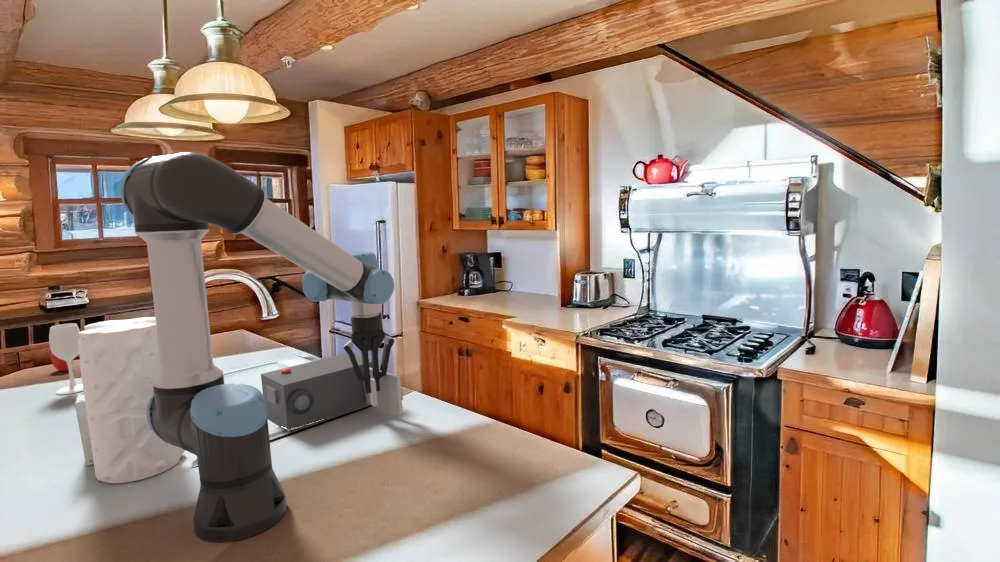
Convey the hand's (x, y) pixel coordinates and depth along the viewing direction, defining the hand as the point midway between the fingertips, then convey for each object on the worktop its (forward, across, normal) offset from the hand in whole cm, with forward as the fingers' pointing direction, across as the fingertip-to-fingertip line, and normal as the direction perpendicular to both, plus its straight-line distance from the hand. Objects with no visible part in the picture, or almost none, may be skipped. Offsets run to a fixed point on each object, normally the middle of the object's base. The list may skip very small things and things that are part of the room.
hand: (374, 403), depth 142 cm
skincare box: (+4, +61, -10) cm, 62 cm away
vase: (+4, +52, +1) cm, 52 cm away
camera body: (+4, +11, -13) cm, 17 cm away
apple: (+4, +89, -103) cm, 136 cm away
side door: (+3, -3, -3) cm, 5 cm away
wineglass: (+4, +80, -73) cm, 109 cm away
